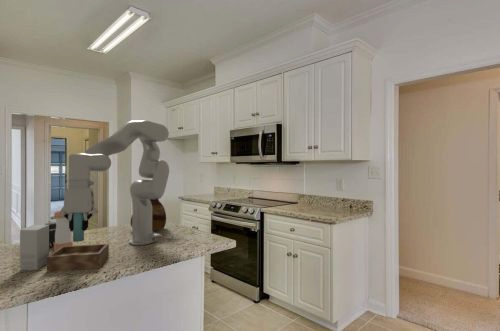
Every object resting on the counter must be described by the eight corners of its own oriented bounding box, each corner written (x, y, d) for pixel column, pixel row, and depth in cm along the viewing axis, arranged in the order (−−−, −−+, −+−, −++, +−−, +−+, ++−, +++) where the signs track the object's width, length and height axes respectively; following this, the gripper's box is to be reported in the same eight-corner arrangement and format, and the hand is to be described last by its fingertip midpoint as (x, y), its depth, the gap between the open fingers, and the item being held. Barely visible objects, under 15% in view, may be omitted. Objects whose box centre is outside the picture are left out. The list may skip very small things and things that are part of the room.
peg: (85, 239, 120) (85, 209, 120) (82, 241, 116) (82, 211, 116) (74, 239, 119) (75, 209, 119) (71, 241, 115) (71, 211, 115)
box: (108, 256, 127) (108, 243, 127) (99, 268, 113) (99, 253, 113) (62, 259, 123) (62, 246, 123) (46, 271, 109) (46, 256, 109)
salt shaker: (52, 252, 132) (52, 210, 131) (55, 248, 138) (54, 207, 138) (71, 250, 135) (71, 208, 135) (73, 246, 142) (72, 206, 141)
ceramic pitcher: (165, 233, 168) (165, 180, 167) (127, 235, 163) (127, 181, 163) (167, 226, 187) (167, 178, 186) (133, 227, 183) (133, 179, 182)
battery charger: (44, 249, 137) (44, 224, 137) (42, 247, 139) (42, 223, 139) (61, 245, 142) (61, 222, 142) (59, 244, 145) (58, 221, 145)
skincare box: (33, 263, 118) (33, 224, 118) (50, 262, 119) (50, 224, 119) (18, 270, 110) (18, 229, 110) (37, 270, 111) (37, 229, 110)
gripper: (104, 183, 123) (103, 227, 123) (60, 183, 119) (59, 229, 119) (99, 184, 116) (98, 231, 116) (51, 185, 112) (51, 233, 112)
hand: (78, 229), depth 117 cm, fingers closed on peg, 3 cm apart
